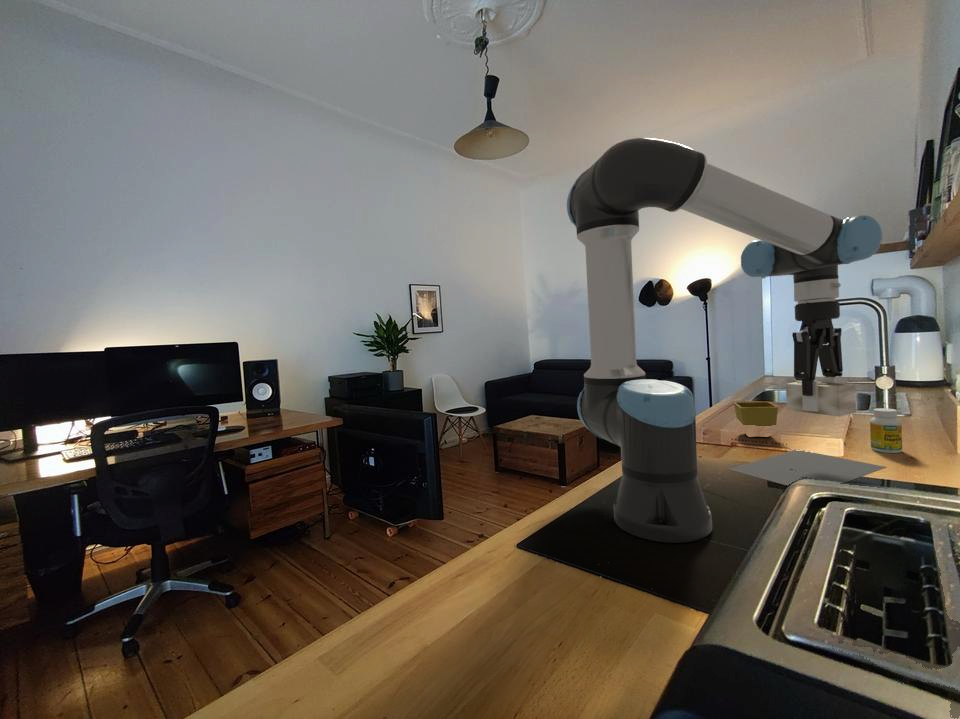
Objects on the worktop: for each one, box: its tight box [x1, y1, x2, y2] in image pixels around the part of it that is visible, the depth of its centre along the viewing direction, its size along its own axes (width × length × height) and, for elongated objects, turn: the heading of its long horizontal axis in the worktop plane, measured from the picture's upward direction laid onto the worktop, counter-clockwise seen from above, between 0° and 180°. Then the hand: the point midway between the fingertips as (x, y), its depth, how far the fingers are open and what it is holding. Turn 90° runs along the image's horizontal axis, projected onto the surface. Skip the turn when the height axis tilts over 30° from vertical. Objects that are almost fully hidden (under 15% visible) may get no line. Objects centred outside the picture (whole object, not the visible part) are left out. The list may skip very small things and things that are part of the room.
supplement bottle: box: [869, 407, 903, 454], centre depth 98 cm, size 5×5×10 cm
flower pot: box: [733, 401, 779, 426], centre depth 117 cm, size 9×9×9 cm
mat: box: [727, 449, 887, 487], centre depth 89 cm, size 25×17×1 cm
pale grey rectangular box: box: [785, 380, 857, 418], centre depth 91 cm, size 10×6×6 cm, turn 24°
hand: (819, 408), depth 91 cm, fingers closed on pale grey rectangular box, 6 cm apart
